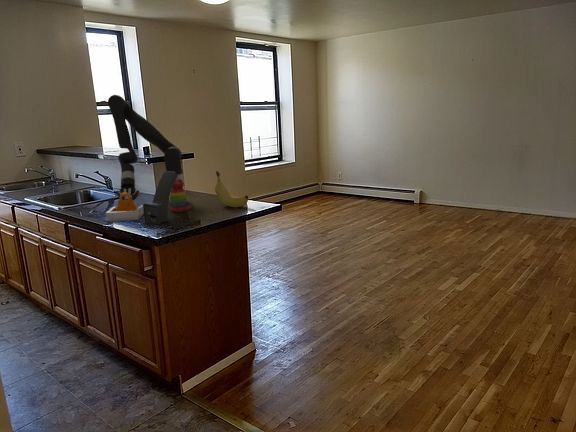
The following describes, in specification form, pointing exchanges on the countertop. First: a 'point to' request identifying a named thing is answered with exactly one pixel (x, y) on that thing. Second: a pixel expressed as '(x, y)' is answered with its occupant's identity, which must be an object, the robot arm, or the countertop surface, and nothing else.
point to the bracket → (124, 214)
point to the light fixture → (160, 200)
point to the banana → (228, 195)
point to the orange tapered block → (126, 203)
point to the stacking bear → (178, 197)
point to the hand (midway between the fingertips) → (127, 206)
